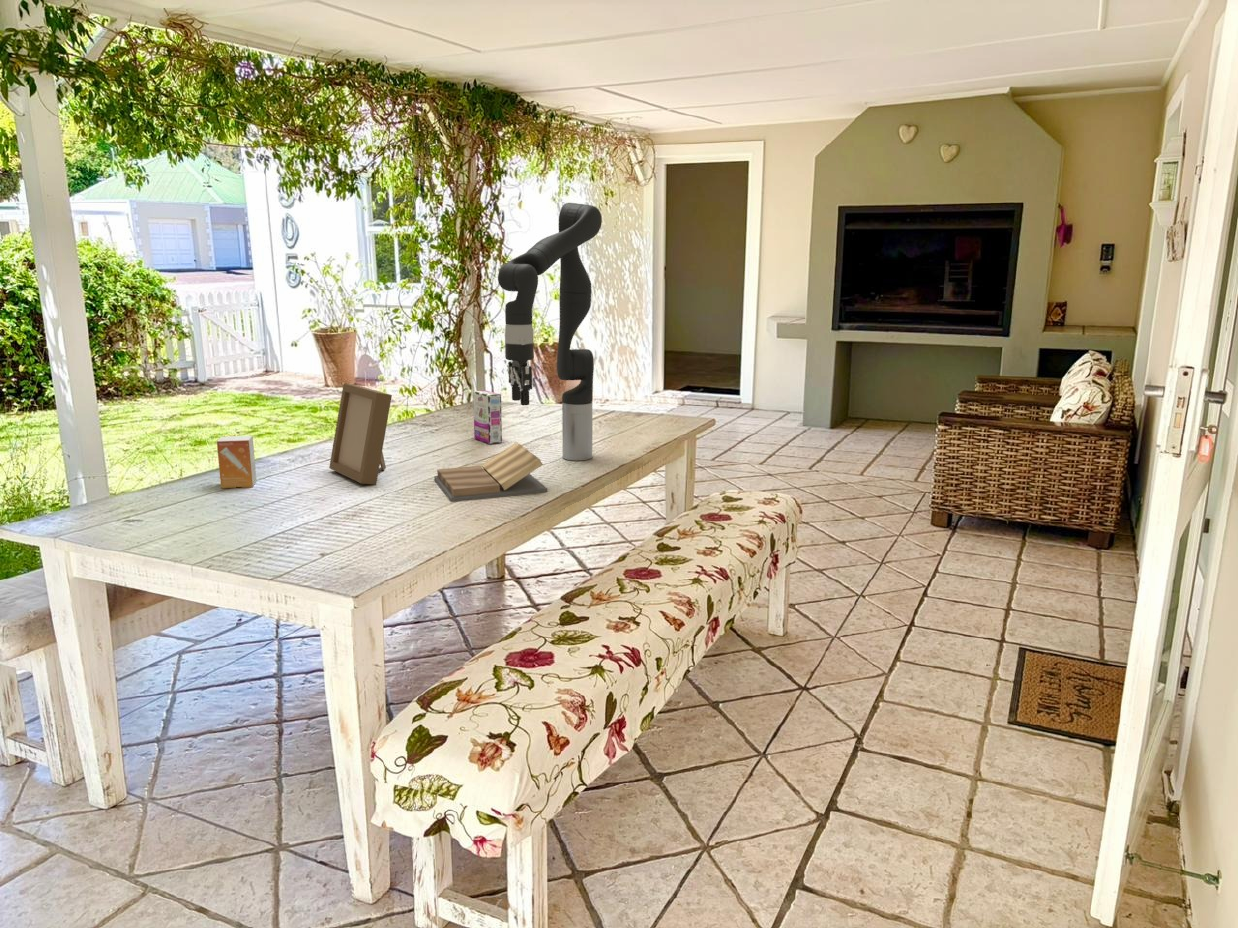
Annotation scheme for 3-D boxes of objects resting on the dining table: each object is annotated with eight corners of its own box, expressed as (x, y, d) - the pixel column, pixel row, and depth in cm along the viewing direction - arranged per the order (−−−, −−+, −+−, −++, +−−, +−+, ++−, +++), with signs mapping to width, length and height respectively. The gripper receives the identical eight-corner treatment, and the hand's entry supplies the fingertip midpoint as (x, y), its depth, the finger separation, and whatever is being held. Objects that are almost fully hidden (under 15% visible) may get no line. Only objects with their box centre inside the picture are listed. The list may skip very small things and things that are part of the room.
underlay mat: (434, 479, 241) (434, 476, 240) (523, 471, 250) (523, 468, 250) (451, 501, 220) (450, 497, 220) (547, 492, 229) (547, 488, 229)
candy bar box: (503, 443, 287) (502, 394, 283) (489, 444, 284) (488, 395, 280) (486, 437, 296) (485, 389, 292) (473, 439, 293) (472, 390, 289)
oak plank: (484, 470, 245) (481, 465, 244) (520, 447, 247) (516, 441, 247) (504, 490, 225) (501, 484, 224) (542, 464, 228) (539, 458, 227)
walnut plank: (437, 476, 240) (437, 469, 240) (480, 472, 245) (480, 465, 244) (453, 496, 220) (453, 489, 220) (499, 492, 225) (499, 484, 224)
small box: (220, 489, 230) (215, 441, 227) (225, 483, 236) (220, 436, 233) (253, 487, 232) (249, 439, 229) (257, 481, 238) (252, 434, 235)
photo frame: (361, 487, 232) (356, 394, 227) (329, 471, 249) (324, 384, 243) (412, 479, 242) (408, 389, 236) (378, 464, 258) (374, 380, 252)
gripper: (498, 339, 234) (500, 399, 238) (512, 344, 221) (514, 407, 225) (525, 339, 237) (526, 398, 240) (541, 343, 224) (542, 406, 228)
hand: (520, 402), depth 233 cm, fingers open, 8 cm apart
